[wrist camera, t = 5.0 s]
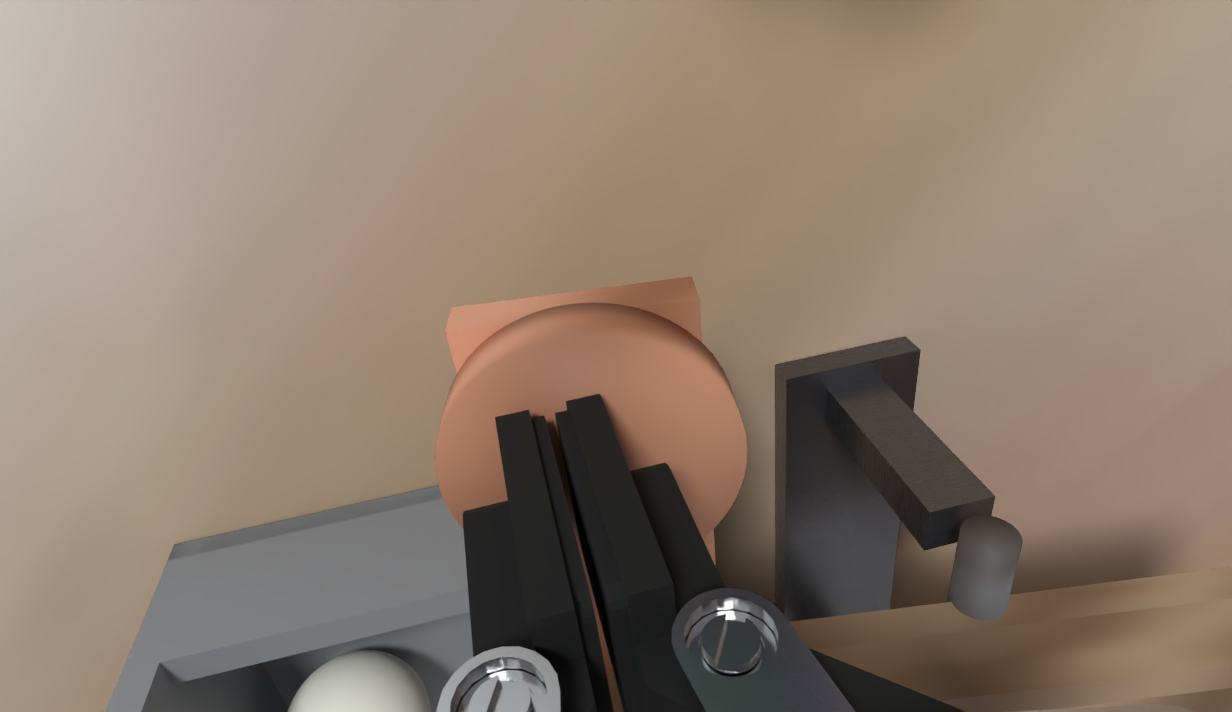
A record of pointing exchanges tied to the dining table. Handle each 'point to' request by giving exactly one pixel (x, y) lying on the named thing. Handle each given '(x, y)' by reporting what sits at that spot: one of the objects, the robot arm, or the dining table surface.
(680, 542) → the robot arm
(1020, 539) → the brown flat piece
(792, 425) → the pivot stand
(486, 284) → the dining table surface
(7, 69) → the dining table surface
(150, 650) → the cup
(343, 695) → the ball
